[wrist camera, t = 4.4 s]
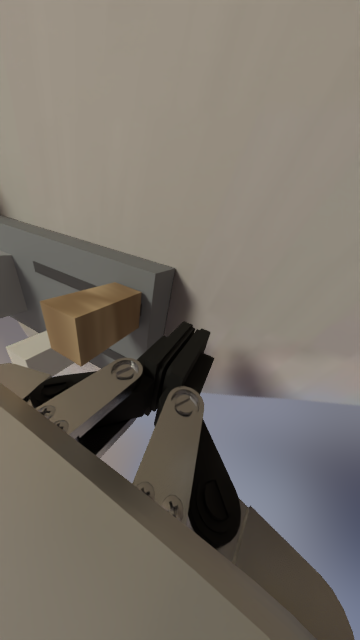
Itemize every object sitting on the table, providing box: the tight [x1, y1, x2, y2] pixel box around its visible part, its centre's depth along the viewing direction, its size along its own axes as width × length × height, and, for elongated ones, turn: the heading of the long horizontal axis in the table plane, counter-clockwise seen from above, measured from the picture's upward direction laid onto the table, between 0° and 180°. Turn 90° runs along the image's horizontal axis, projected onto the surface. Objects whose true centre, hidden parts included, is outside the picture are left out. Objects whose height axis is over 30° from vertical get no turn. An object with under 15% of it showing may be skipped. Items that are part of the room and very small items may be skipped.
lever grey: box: [6, 331, 74, 376], centre depth 15 cm, size 2×3×5 cm
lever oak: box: [40, 282, 142, 366], centre depth 11 cm, size 2×3×5 cm
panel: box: [0, 215, 175, 369], centre depth 17 cm, size 26×12×7 cm, turn 77°
